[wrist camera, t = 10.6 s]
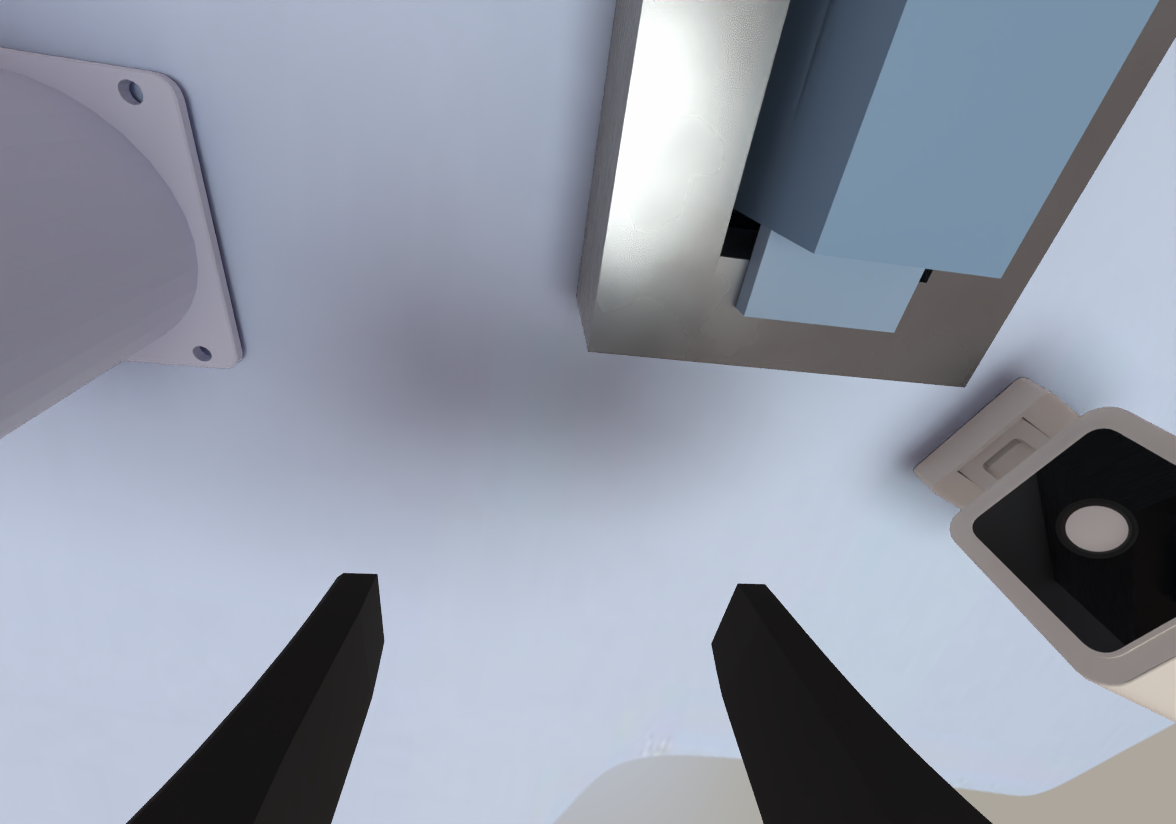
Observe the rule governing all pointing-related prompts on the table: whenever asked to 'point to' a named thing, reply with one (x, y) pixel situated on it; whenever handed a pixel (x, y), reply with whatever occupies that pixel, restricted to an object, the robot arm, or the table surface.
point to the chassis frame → (722, 254)
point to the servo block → (914, 144)
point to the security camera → (1073, 531)
